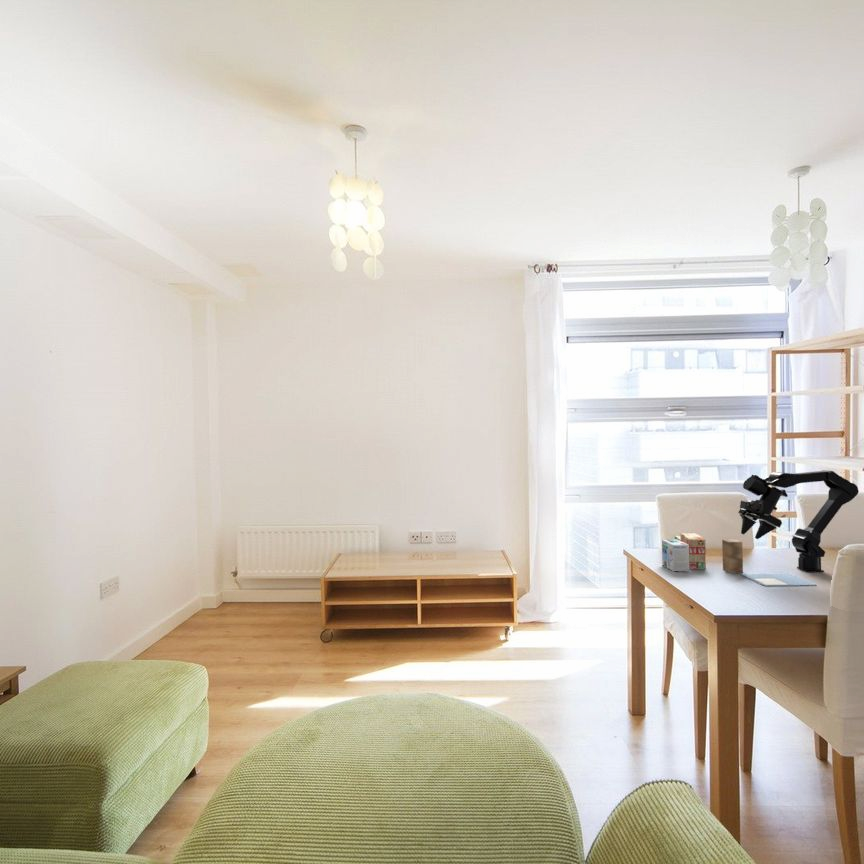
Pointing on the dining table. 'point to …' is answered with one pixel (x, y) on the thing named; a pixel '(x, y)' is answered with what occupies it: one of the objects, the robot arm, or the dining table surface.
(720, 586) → the dining table surface
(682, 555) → the light bulb box
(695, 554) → the stack of blocks
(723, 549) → the walnut column
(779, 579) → the board
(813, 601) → the dining table surface
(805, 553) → the robot arm
